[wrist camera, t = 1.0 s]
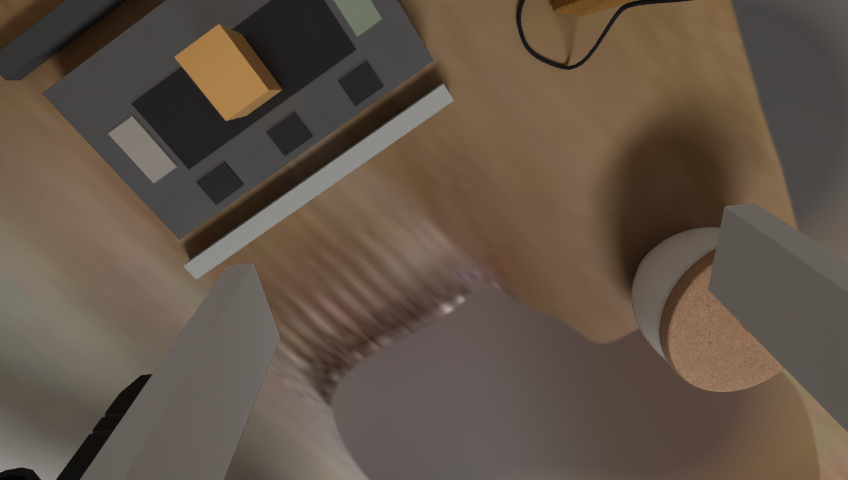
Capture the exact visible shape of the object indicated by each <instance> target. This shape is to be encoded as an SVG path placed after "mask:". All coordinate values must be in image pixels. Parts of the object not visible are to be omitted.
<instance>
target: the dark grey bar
mask: <svg viewBox="0 0 848 480" xmlns="http://www.w3.org/2000/svg"><path fill="white" fill-rule="evenodd" d="M124 1H125V0H65V1H64V2H63V3H61V4H60V5H59V6H57V7H56V8H55V9H53V10H52V11H51V12H50V13H48V14H47V15H46V16H44V17H43V18H42V19H40V20H39V21H38V22H36V23H35V24H34V25H33V26H31V27H30V28H29V29H27V30H26V31H25V32H23V33H22V34H21V35H20V36H18V37H17V38H16V39H14V40H13V41H12V42H10V43H9V44H8V45H6V46H5V47H4V48H3V49H1V50H0V75H1V76H2V77H3V78H4V79H5V80H21V79H23V78H24V77H25V76H26V75H28V74H29V73H30V72H32V71H33V70H34V69H36V68H37V67H38V66H40V65H41V64H42V63H44V62H45V61H46V60H48V59H49V58H50V57H52V56H53V55H54V54H56V53H57V52H58V51H59V50H61V49H62V48H63V47H65V46H66V45H67V44H69V43H70V42H71V41H73V40H74V39H75V38H77V37H78V36H79V35H81V34H82V33H83V32H85V31H86V30H87V29H89V28H90V27H91V26H92V25H94V24H95V23H96V22H98V21H99V20H100V19H102V18H103V17H104V16H106V15H107V14H108V13H110V12H111V11H112V10H114V9H115V8H116V7H118V6H119V5H120V4H122V3H123V2H124Z"/></svg>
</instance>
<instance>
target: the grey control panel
mask: <svg viewBox="0 0 848 480" xmlns="http://www.w3.org/2000/svg"><path fill="white" fill-rule="evenodd" d="M218 24H221V25H223V26H225V27H227V28H229V29H232V30H234V31H236V32H238V33H240V34H242V35H243V36H244V38H245V39H246V41H247V42H248V43H249V45H250V46H251V47H252V49H253V50H254V51H255V53H256V54H257V55H258V57H259V58H260V60H261V61H262V62H263V64H264V65H265V66H266V68H267V69H268V70H269V72H270V73H271V74H272V76H273V77H274V78H275V80H276V81H277V83H278V84H279V85H280V87H281V88H282V89H283V90H282V91H280V92H279V93H278V94H276V95H275V96H273V97H272V98H271V99H269V100H268V101H266V102H265V103H264V104H262V105H261V106H259V107H258V108H257V109H255V110H254V111H253V112H251V113H250V114H248V115H247V116H244V117H240V118H236V119H232V120H228V121H225V119H224V118H223V117H222V116H221V114H220V113H219V112H218V111H217V110H216V108H215V107H214V106H213V105H212V103H211V102H210V101H209V100H208V98H207V97H206V96H205V95H204V93H203V92H202V91H201V90H200V88H199V87H198V86H197V85H196V83H195V82H194V81H193V80H192V78H191V77H190V76H189V75H188V73H187V72H186V71H185V70H184V69H183V67H182V66H181V65H180V64H179V62H178V61H177V60H176V59H175V56H176V55H178V54H179V53H180V52H182V51H183V50H184V49H186V48H187V47H188V46H190V45H191V44H192V43H194V42H195V41H196V40H198V39H199V38H201V37H202V36H203V35H205V34H206V33H207V32H209V31H210V30H211V29H213V28H214V27H215V26H217V25H218ZM432 61H434V60H433V58H432V57H431V55H430V53H429V52H428V50H427V48H426V47H425V45H424V43H423V42H422V40H421V38H420V37H419V35H418V33H417V32H416V30H415V28H414V27H413V25H412V23H411V22H410V20H409V18H408V17H407V15H406V13H405V12H404V10H403V8H402V7H401V5H400V3H399V2H398V0H166V1H164V2H163V3H162V4H160V5H159V6H158V7H156V8H155V9H154V10H152V11H151V12H150V13H148V14H147V15H146V16H144V17H143V18H142V19H140V20H139V21H138V22H136V23H135V24H134V25H132V26H131V27H130V28H128V29H127V30H126V31H124V32H123V33H122V34H120V35H119V36H118V37H116V38H115V39H114V40H112V41H111V42H110V43H108V44H107V45H106V46H104V47H103V48H102V49H100V50H99V51H98V52H96V53H95V54H94V55H92V56H91V57H90V58H88V59H87V60H86V61H84V62H83V63H82V64H80V65H79V66H78V67H77V68H75V69H74V70H73V71H71V72H70V73H69V74H67V75H66V76H65V77H63V78H62V79H61V80H59V81H58V82H57V83H55V84H54V85H53V86H51V87H50V88H49V89H47V90H46V91H45V92H43V93H42V94H43V95H44V96H45V97H46V98H47V99H48V100H49V101H50V102H51V103H52V104H53V106H54V107H55V108H56V109H57V110H58V111H59V112H60V113H61V114H62V115H63V116H64V117H65V118H66V119H67V120H68V122H69V123H70V124H71V125H72V126H73V127H74V128H75V129H76V130H77V131H78V132H79V133H80V134H81V135H82V136H83V138H84V139H85V140H86V141H87V142H88V143H89V144H90V145H91V146H92V147H93V148H94V149H95V150H96V151H97V152H98V154H99V155H100V156H101V157H102V158H103V159H104V160H105V161H106V162H107V163H108V164H109V165H110V166H111V167H112V168H113V170H114V171H115V172H116V173H117V174H118V175H119V176H120V177H121V178H122V179H123V180H124V181H125V182H126V183H127V184H128V186H129V187H130V188H131V189H132V190H133V191H134V192H135V193H136V194H137V195H138V196H139V197H140V198H141V199H142V200H143V202H144V203H145V204H146V205H147V206H148V207H149V208H150V209H151V210H152V211H153V212H154V213H155V214H156V215H157V216H158V218H159V219H160V220H161V221H162V222H163V223H164V224H165V225H166V226H167V227H168V228H169V229H170V230H171V231H172V232H173V234H174V235H175V236H176V237H177V238H178V239H179V240H180V239H181V238H183V237H184V236H186V235H187V234H188V233H190V232H191V231H193V230H194V229H195V228H197V227H198V226H200V225H201V224H203V223H204V222H205V221H207V220H208V219H210V218H211V217H212V216H214V215H215V214H217V213H218V212H220V211H221V210H222V209H224V208H225V207H227V206H228V205H229V204H231V203H232V202H234V201H235V200H237V199H238V198H239V197H241V196H242V195H244V194H245V193H247V192H248V191H249V190H251V189H252V188H254V187H255V186H256V185H258V184H259V183H261V182H262V181H264V180H265V179H266V178H268V177H269V176H271V175H272V174H273V173H275V172H276V171H278V170H279V169H281V168H282V167H283V166H285V165H286V164H288V163H289V162H290V161H292V160H293V159H295V158H296V157H298V156H299V155H300V154H302V153H303V152H305V151H306V150H307V149H309V148H310V147H312V146H313V145H315V144H316V143H317V142H319V141H320V140H322V139H323V138H324V137H326V136H327V135H329V134H330V133H332V132H333V131H334V130H336V129H337V128H339V127H340V126H342V125H343V124H344V123H346V122H347V121H349V120H350V119H351V118H353V117H354V116H356V115H357V114H359V113H360V112H361V111H363V110H364V109H366V108H367V107H368V106H370V105H371V104H373V103H374V102H376V101H377V100H378V99H380V98H381V97H383V96H384V95H385V94H387V93H388V92H390V91H391V90H393V89H394V88H395V87H397V86H398V85H400V84H401V83H402V82H404V81H405V80H407V79H408V78H410V77H411V76H412V75H414V74H415V73H417V72H418V71H419V70H421V69H422V68H424V67H425V66H427V65H428V64H429V63H431V62H432Z"/></svg>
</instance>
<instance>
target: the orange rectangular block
mask: <svg viewBox="0 0 848 480" xmlns="http://www.w3.org/2000/svg"><path fill="white" fill-rule="evenodd" d="M175 59H176V60H177V61H178V62H179V64H180V65H181V66H182V67H183V69H184V70H185V71H186V72H187V73H188V75H189V76H190V77H191V78H192V80H193V81H194V82H195V83H196V85H197V86H198V87H199V88H200V90H201V91H202V92H203V93H204V95H205V96H206V97H207V98H208V100H209V101H210V102H211V103H212V105H213V106H214V107H215V108H216V110H217V111H218V112H219V113H220V114H221V116H222V117H223V118H224V119H225V121H228V120H232V119H236V118H240V117H244V116H247V115H248V114H250V113H251V112H253V111H254V110H255V109H257V108H258V107H259V106H261V105H262V104H264V103H265V102H266V101H268V100H269V99H271V98H272V97H273V96H275V95H276V94H278V93H279V92H280V91H282V90H283V89H282V88H281V87H280V85H279V84H278V83H277V81H276V80H275V78H274V77H273V76H272V74H271V73H270V72H269V70H268V69H267V68H266V66H265V65H264V64H263V62H262V61H261V60H260V58H259V57H258V55H257V54H256V53H255V51H254V50H253V49H252V47H251V46H250V45H249V43H248V42H247V41H246V39H245V38H244V36H243V35H242V34H240V33H238V32H236V31H234V30H232V29H229V28H227V27H225V26H223V25H221V24H218V25H217V26H215V27H214V28H213V29H211V30H210V31H209V32H207V33H206V34H205V35H203V36H202V37H201V38H199V39H198V40H196V41H195V42H194V43H192V44H191V45H190V46H188V47H187V48H186V49H184V50H183V51H182V52H180V53H179V54H178V55H176V56H175Z"/></svg>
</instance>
